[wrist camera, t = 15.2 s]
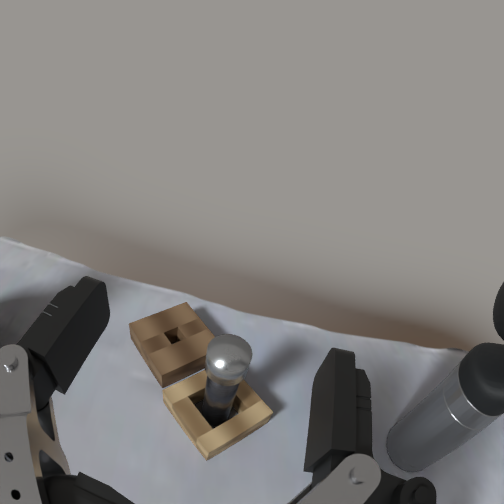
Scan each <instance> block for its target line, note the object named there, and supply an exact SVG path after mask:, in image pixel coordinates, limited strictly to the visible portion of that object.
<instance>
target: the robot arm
mask: <svg viewBox="0 0 504 504" xmlns="http://www.w3.org/2000/svg"><path fill="white" fill-rule="evenodd" d="M109 318H110V309H109V303H108V297H107V290H106V285H105V283H104V282H102V281H99V280H96V279H93V278H90V277H88V276H85V277H83V278H82V279H81V280H80V281H79V282H78V283H77V285H76V286H75V287H73V286H69V287H67V288H65V289H64V290H62V291H60V292H59V293H58V294H57V295H56V296H55V297H54V299H53V300H52V301H51V302H50V305H48V306H47V307H46V308H45V309H44V312H43V313H41V314H40V316H39V317H38V318H37V319H36V321H35V322H34V323H33V325H32V326H31V327H30V328H29V330H28V331H27V332H26V334H25V335H24V336H23V337H22V339H21V340H20V341H19V342H18V343H17V344H16V345H15V344H9V345H6V346H3V347H2V348H0V504H134V503H133V502H131V501H130V500H128V499H127V498H126V497H124V496H123V495H121V494H120V493H118V492H117V491H116V490H114V489H113V488H112V487H110V486H109V485H106V484H104V483H102V482H100V481H98V480H95V479H93V478H91V477H89V476H87V475H85V474H83V473H81V472H79V473H78V476H76V475H71V473H70V469H69V466H68V462H67V459H66V456H65V454H64V452H63V450H62V448H61V445H60V442H59V437H58V432H57V426H56V421H55V415H54V408H53V401H52V397H51V396H52V394H53V392H54V391H55V390H57V391H59V392H61V393H63V394H64V395H65V393H66V391H67V390H68V388H69V386H70V385H71V383H72V381H73V380H74V378H75V376H76V375H77V373H78V371H79V370H80V368H81V366H82V365H83V363H84V361H85V360H86V358H87V357H88V355H89V353H90V352H91V350H92V349H93V347H94V345H95V344H96V342H97V341H98V339H99V337H100V336H101V334H102V333H103V331H104V330H105V328H106V326H107V324H108V322H109ZM493 322H494V326H495V329H496V331H497V333H498V335H499V336H500V337H501V338H502V339H503V340H504V282H503V284H502V286H501V287H500V289H499V291H498V294H497V296H496V299H495V303H494V309H493ZM370 398H371V388H370V382H369V380H368V377H367V375H366V373H365V371H364V370H361V369H356V368H355V354H354V352H351V351H346V350H341V349H337V348H331V350H330V351H329V353H328V355H327V356H326V358H325V360H324V361H323V363H322V365H321V366H320V368H319V369H318V371H317V373H316V375H315V378H314V382H313V387H312V398H311V408H310V419H309V429H308V438H307V447H306V455H305V463H304V471H305V472H312V473H313V477H312V482H311V483H310V484H309V485H308V486H307V487H305V488H304V489H303V490H302V491H301V492H300V493H299V494H298V495H297V496H295V497H294V498H293V499H292V500H291V501H290V502H289V503H287V504H436V490H435V487H434V485H433V484H432V483H431V482H430V481H429V480H428V479H426V478H423V477H415V478H412V479H410V480H408V481H406V480H404V479H401V478H398V477H396V476H393V475H391V474H388V473H386V472H384V471H383V470H381V469H380V467H379V465H378V464H377V462H376V461H375V460H374V458H373V454H372V412H371V400H370ZM503 413H504V345H502V344H495V343H482V344H479V345H477V346H475V347H474V348H473V349H472V350H471V351H470V352H469V353H468V354H467V355H466V356H465V357H464V358H463V360H462V361H461V362H460V363H459V364H458V365H457V366H456V367H455V368H454V369H453V371H452V372H451V373H450V374H449V375H448V376H447V377H446V378H445V379H444V380H443V381H442V382H441V383H440V384H439V385H438V386H437V387H436V388H435V389H434V390H433V391H432V392H431V393H430V394H429V395H428V396H427V397H426V398H425V399H424V400H423V401H422V402H421V403H420V404H418V405H417V406H416V407H415V408H414V409H413V410H412V411H411V412H410V413H408V414H407V415H406V416H405V417H404V418H403V419H402V420H400V421H399V422H398V423H397V424H396V425H395V426H394V427H393V428H392V429H391V430H390V432H389V434H388V438H387V450H388V453H389V456H390V458H391V459H392V461H393V462H394V463H395V464H396V465H397V466H398V467H400V468H401V469H403V470H406V471H410V472H415V471H420V470H422V469H424V468H426V467H428V466H429V465H431V464H433V463H434V462H436V461H438V460H439V459H441V458H443V457H444V456H446V455H447V454H449V453H450V452H452V451H453V450H455V449H456V448H458V447H459V446H461V445H462V444H464V443H465V442H467V441H468V440H469V439H471V438H472V437H474V436H475V435H476V434H478V433H479V432H480V431H482V430H483V429H484V428H486V427H487V426H488V425H489V424H491V423H492V422H493V421H494V420H496V419H497V418H498V417H499V416H501V415H502V414H503Z"/></svg>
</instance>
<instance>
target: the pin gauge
mask: <svg viewBox="0 0 504 504" xmlns="http://www.w3.org/2000/svg"><path fill="white" fill-rule="evenodd" d="M251 359H252V349H251V347H250V345H249V344H248V343H247V342H246V341H245V340H244V339H243V338H241V337H239V336H236V335H232V334H222V335H219V336H216V337H214V338H213V339H212V340H211V341H210V342H209V344H208V347H207V354H206V361H205V371H206V374H207V380H206V387H205V393H204V400H203V407H202V416H203V417H204V418H205V420H206V421H207V422H208V424H209V425H211V426H219V425H221V424H223V423H224V422H226V421H227V420H228V417H229V414H230V411H231V408H232V405H233V402H234V399H235V396H236V393H237V389H238V386H239V383H240V382H241V381H242V380H243V379H244V378H245V376H246V374H247V371H248V368H249V365H250V362H251Z"/></svg>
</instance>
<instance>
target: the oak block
mask: <svg viewBox="0 0 504 504" xmlns="http://www.w3.org/2000/svg"><path fill="white" fill-rule="evenodd" d="M206 380H207V374H206V371H205V370H204V371H202V372H200V373H197V374H195V375H193V376H191V377H189V378H187V379H185V380H183V381H181V382H179V383H177V384H175V385H173V386H170V387H168V388H166V389H164V390H163V401H164V403H165V405H166V406H167V408H168V409H169V411H170V412H171V414H172V415H173V417H174V418H175V419H176V421H177V422H178V424H179V425H180V426H181V428H182V429H183V430H184V432H185V433H186V435H187V436H188V437H189V439H190V440H191V441H192V443H193V444H194V445H195V447H196V448H197V449H198V450H199V452H200V453H201V454H202V456H203V457H204V458H205V459H206V461H207V460H209V459H210V458H212V457H214V456H215V455H217V454H219V453H221V452H222V451H224V450H226V449H227V448H229V447H230V446H232V445H234V444H235V443H237V442H239V441H240V440H242V439H243V438H245V437H246V436H248V435H250V434H251V433H253V432H254V431H256V430H257V429H259V428H260V427H262V426H263V425H265V424H266V423H267V422H268V421H269V419H270V417H271V415H272V414H273V411H272V410H271V409H270V408H269V407H268V406H267V405H266V404H265V403H264V402H263V400H262V399H261V398H260V397H259V396H258V395H257V394H256V393H255V392H254V391H253V389H252V388H251V387H250V386H249V385H248V384H247V383H246V382H245V380H244V379H243V380H242V381H241V382H240V383H239V386H238V389H237V393H236V396H235V399H234V402H233V405H232V406H233V408H234V409H235V410H236V411H237V412H238V413H239V414H238V415H236V416H235V417H233V418H231V419H230V420H228V421H226V422H224V423H223V424H221V425H219V426H218V427H216V428H214V429H212V427H211V426H210V425H209V424H208V422H207V421H206V420H205V418H204V417H203V416H202V415H201V413H200V412H199V411H198V409H197V408H196V407H195V405H194V404H196V403H198V402H200V401H201V400H203V399H204V393H205V387H206Z"/></svg>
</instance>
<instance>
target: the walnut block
mask: <svg viewBox="0 0 504 504" xmlns="http://www.w3.org/2000/svg"><path fill="white" fill-rule="evenodd" d="M129 327H130V335H131V339H132V341H133V342H134V344H135V346H136V347H137V349H138V351H139V352H140V354H141V356H142V357H143V359H144V360H145V362H146V364H147V365H148V367H149V368H150V370H151V372H152V373H153V375H154V376H155V378H156V379H157V381H158V382H159V384H160V385H161V387H162V388H164V387H166V386H168V385H170V384H172V383H175V382H177V381H179V380H181V379H183V378H185V377H187V376H189V375H191V374H193V373H195V372H198V371H200V370H202V369H204V368H205V361H206V354H207V347H208V344H209V342H210V341H211V340H212V339H213V338H214V337H215V336H214V335H213V334H212V333H211V331H210V330H209V329H208V328H207V327H206V325H205V324H204V323H203V322H202V320H201V319H200V318H199V317H198V316H197V314H196V313H195V312H194V311H193V309H192V308H191V307H190V306H189V305H188V303H187V302H185V303H182V304H180V305H177V306H174V307H172V308H169V309H167V310H164V311H161V312H159V313H156V314H153V315H151V316H148V317H145V318H143V319H140V320H137V321H135V322H132V323H129ZM174 342H176V343H174ZM172 343H174V344H172Z"/></svg>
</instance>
